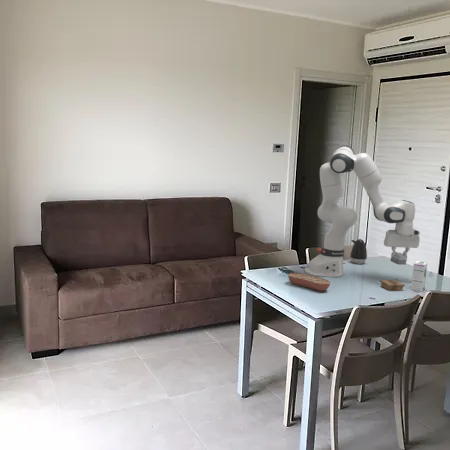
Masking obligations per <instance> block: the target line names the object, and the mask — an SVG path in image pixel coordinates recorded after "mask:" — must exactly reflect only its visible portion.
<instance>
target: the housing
mask: <svg viewBox="0 0 450 450" xmlns="http://www.w3.org/2000/svg"><path fill="white" fill-rule="evenodd" d="M396 252H397V251H396ZM407 260H408V254H407V255H404V254H403V252H397V255H393V251H392V252H391V253H390V262H392V263H394V264H396V265H400V266H401V265H406V264H407Z"/></svg>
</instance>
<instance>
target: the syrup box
mask: <svg viewBox="0 0 450 450" xmlns="http://www.w3.org/2000/svg"><path fill="white" fill-rule="evenodd" d="M427 268H428V262H426V261H418V260H416V261H415V262H413V268H412V278H411V285H410V287H411V288H410V289H411V290H412V291H417V292H423V291H424V290H425V288H426V287H425V286H426V277H427V270H428V269H427Z"/></svg>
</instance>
